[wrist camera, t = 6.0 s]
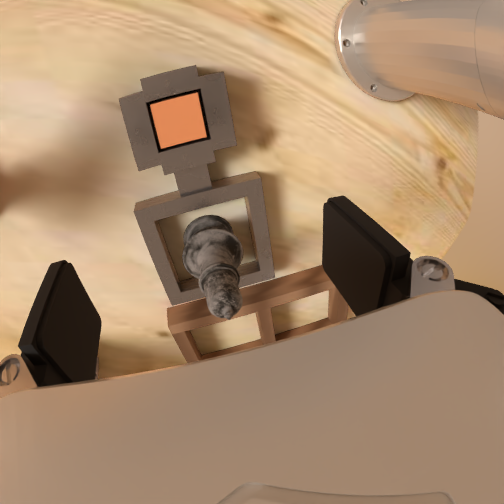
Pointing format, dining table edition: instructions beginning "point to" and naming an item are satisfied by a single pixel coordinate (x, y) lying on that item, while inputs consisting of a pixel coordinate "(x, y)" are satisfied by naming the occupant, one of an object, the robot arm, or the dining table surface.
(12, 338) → the dining table surface
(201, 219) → the chess piece
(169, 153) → the grey flat frame piece
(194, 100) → the button
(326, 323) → the walnut rack
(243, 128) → the dining table surface
